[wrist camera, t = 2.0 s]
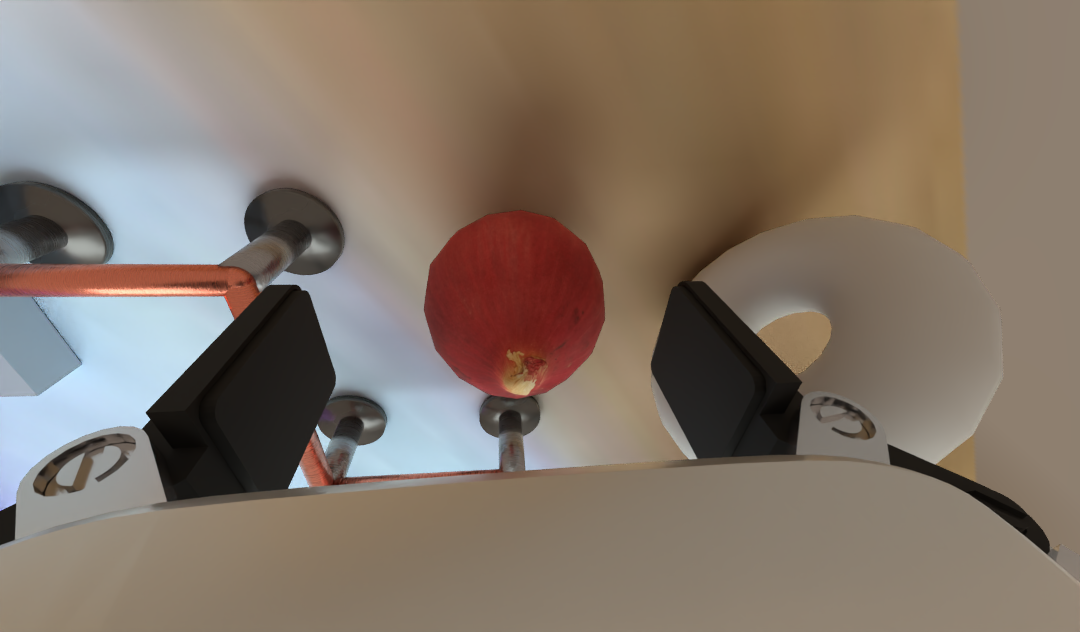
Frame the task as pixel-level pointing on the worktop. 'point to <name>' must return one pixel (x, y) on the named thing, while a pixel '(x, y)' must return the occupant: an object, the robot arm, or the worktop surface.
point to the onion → (514, 303)
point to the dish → (30, 349)
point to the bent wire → (276, 245)
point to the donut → (873, 323)
